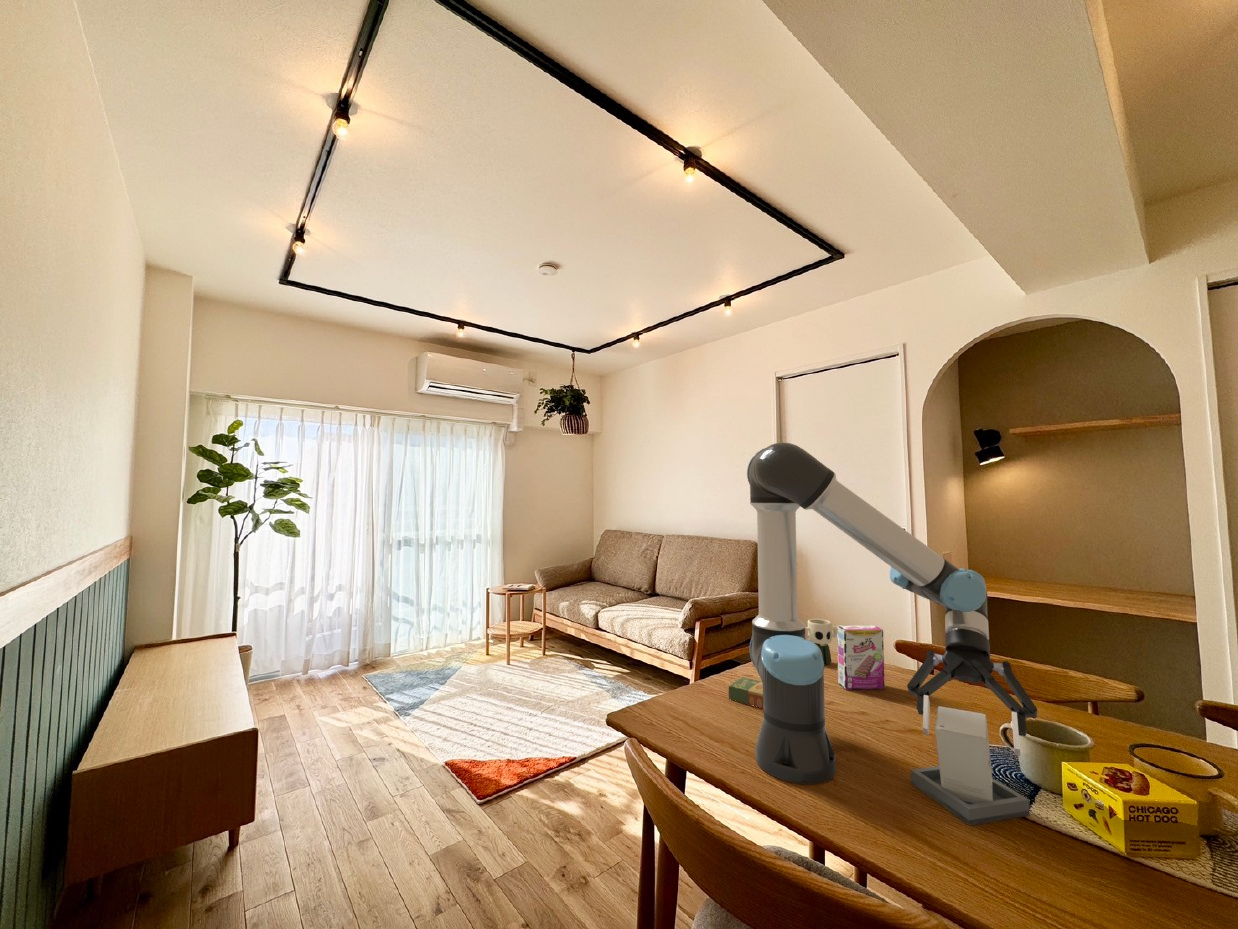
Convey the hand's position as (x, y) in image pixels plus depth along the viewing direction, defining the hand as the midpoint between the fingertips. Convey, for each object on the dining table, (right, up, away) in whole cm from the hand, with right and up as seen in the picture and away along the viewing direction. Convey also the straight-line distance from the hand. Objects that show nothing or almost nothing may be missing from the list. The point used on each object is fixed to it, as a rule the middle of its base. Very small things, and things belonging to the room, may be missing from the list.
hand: (969, 741), depth 90 cm
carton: (-26, -12, +38) cm, 48 cm away
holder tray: (-3, -8, -3) cm, 9 cm away
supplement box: (-2, -7, -3) cm, 8 cm away
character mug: (+1, -13, +68) cm, 69 cm away
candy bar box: (+4, -12, +48) cm, 49 cm away
